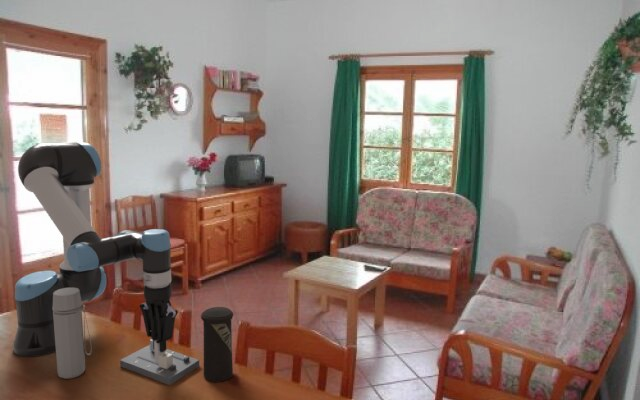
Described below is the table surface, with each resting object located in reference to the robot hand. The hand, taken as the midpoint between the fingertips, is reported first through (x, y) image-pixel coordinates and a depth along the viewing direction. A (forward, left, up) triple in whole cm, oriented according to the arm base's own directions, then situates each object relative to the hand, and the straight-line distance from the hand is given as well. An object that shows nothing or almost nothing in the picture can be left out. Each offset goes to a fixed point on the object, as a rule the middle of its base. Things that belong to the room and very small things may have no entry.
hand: (160, 360), depth 140 cm
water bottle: (-20, -13, -4) cm, 24 cm away
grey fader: (-7, +6, -1) cm, 9 cm away
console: (-2, +2, -3) cm, 5 cm away
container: (+16, +7, -4) cm, 18 cm away
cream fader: (+2, 0, -1) cm, 2 cm away
